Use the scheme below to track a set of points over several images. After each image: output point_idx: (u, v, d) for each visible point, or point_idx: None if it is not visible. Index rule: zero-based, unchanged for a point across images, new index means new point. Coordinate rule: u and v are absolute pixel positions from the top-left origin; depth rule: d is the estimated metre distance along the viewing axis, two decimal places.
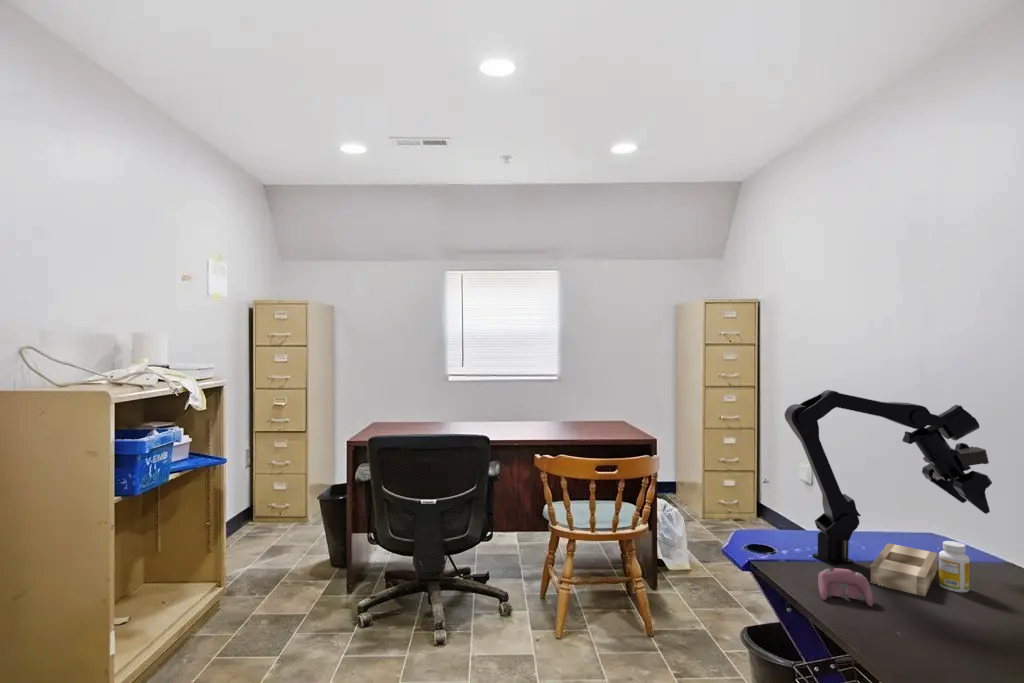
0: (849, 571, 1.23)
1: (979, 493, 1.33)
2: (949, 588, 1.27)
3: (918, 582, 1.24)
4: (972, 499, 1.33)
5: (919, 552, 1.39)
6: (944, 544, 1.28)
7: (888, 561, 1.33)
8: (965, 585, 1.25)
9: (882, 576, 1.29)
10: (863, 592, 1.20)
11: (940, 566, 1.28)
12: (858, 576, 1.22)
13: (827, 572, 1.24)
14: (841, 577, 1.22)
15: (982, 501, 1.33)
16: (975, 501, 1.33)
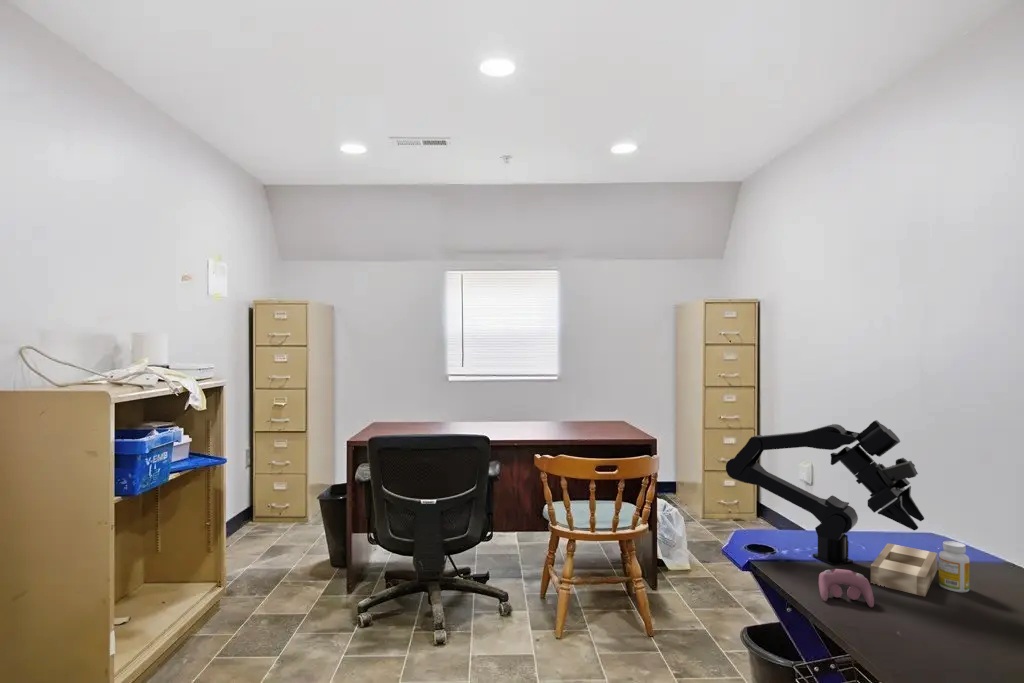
0: (850, 572, 1.22)
1: (898, 509, 1.30)
2: (949, 588, 1.27)
3: (918, 582, 1.24)
4: (891, 516, 1.31)
5: (919, 552, 1.39)
6: (944, 544, 1.28)
7: (888, 561, 1.33)
8: (965, 585, 1.25)
9: (882, 576, 1.29)
10: (864, 593, 1.20)
11: (940, 566, 1.28)
12: (859, 577, 1.21)
13: (828, 573, 1.23)
14: (842, 578, 1.22)
15: (904, 517, 1.30)
16: (896, 517, 1.30)
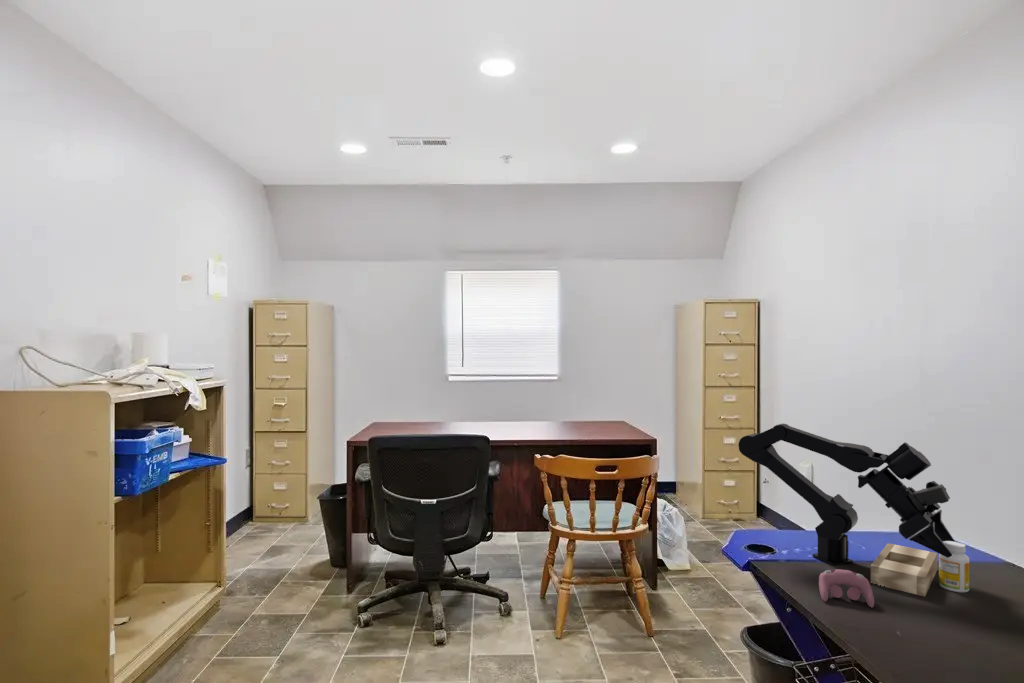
0: (850, 572, 1.22)
1: (931, 535, 1.26)
2: (949, 588, 1.27)
3: (918, 582, 1.24)
4: (923, 542, 1.27)
5: (919, 552, 1.39)
6: None
7: (888, 561, 1.33)
8: (965, 585, 1.25)
9: (882, 576, 1.29)
10: (864, 593, 1.20)
11: (940, 566, 1.28)
12: (859, 577, 1.21)
13: (828, 573, 1.23)
14: (842, 578, 1.21)
15: (937, 543, 1.26)
16: (928, 544, 1.26)
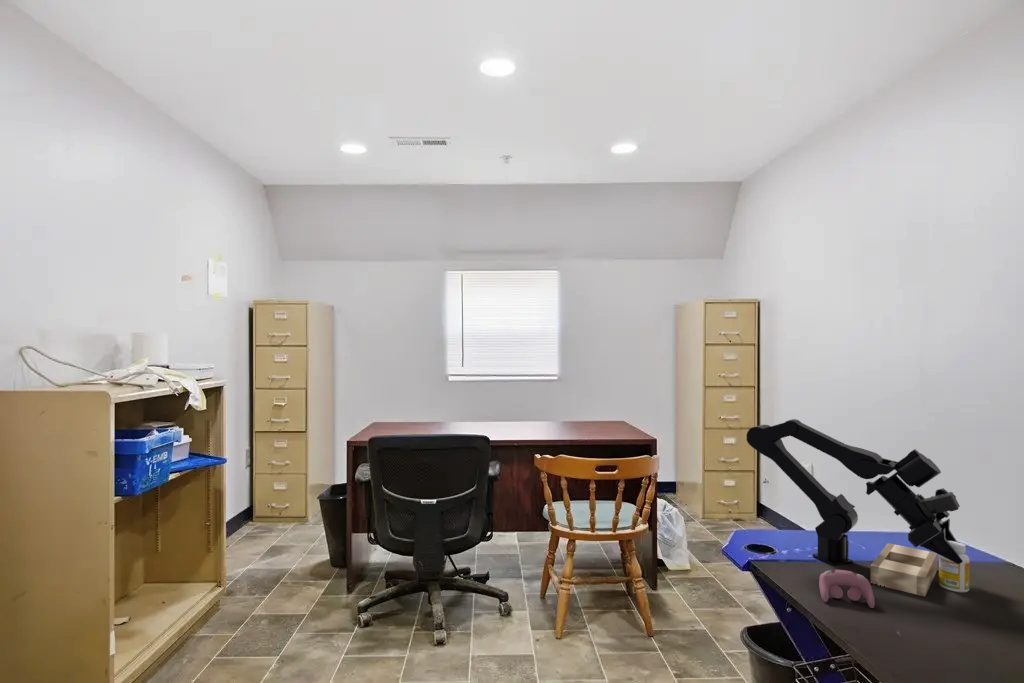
0: (850, 573, 1.22)
1: (941, 542, 1.26)
2: (949, 588, 1.27)
3: (918, 582, 1.24)
4: (934, 548, 1.27)
5: (919, 552, 1.39)
6: None
7: (888, 561, 1.33)
8: (965, 585, 1.25)
9: (882, 576, 1.29)
10: (865, 594, 1.19)
11: (940, 566, 1.28)
12: (859, 578, 1.21)
13: (828, 574, 1.23)
14: (842, 579, 1.21)
15: (947, 550, 1.26)
16: (939, 550, 1.27)
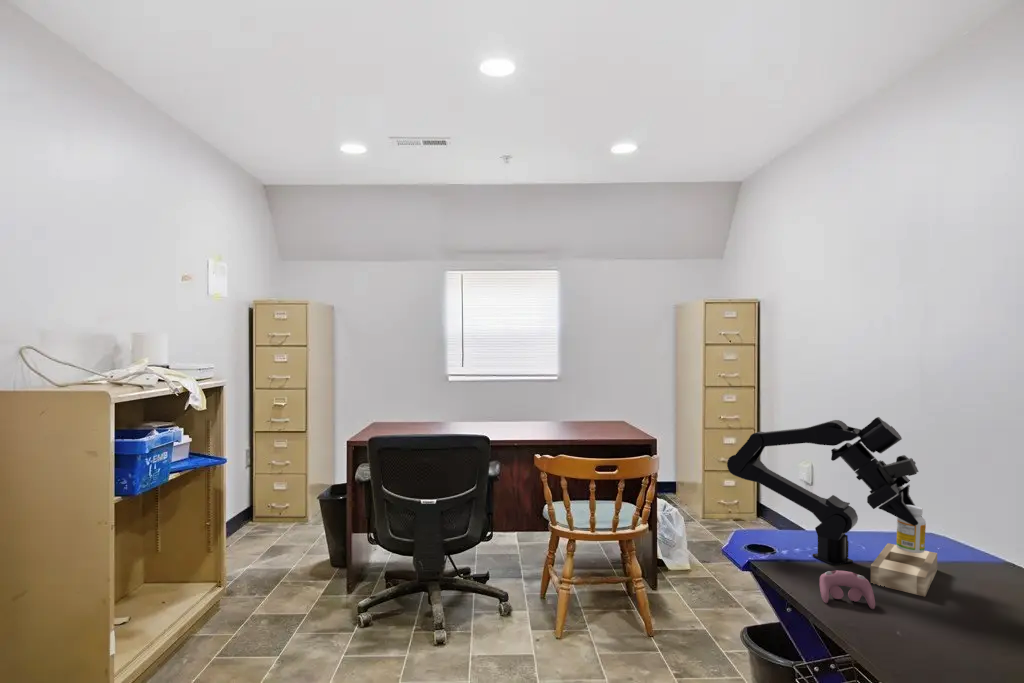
0: (851, 573, 1.21)
1: (899, 504, 1.32)
2: (905, 549, 1.32)
3: (918, 582, 1.24)
4: (892, 511, 1.32)
5: None
6: None
7: (888, 561, 1.33)
8: (921, 546, 1.31)
9: (882, 576, 1.29)
10: (865, 595, 1.19)
11: (898, 528, 1.34)
12: (860, 578, 1.20)
13: (829, 574, 1.22)
14: (843, 579, 1.21)
15: (904, 512, 1.31)
16: (896, 513, 1.32)
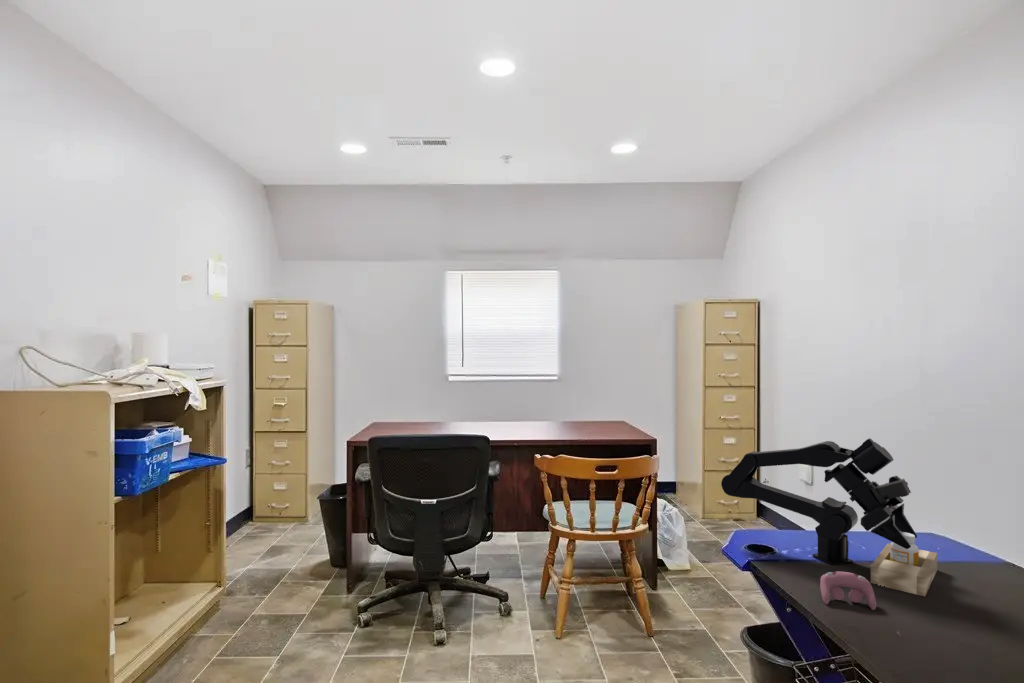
0: (852, 574, 1.21)
1: (891, 528, 1.31)
2: None
3: (918, 582, 1.24)
4: (884, 534, 1.32)
5: (919, 552, 1.39)
6: None
7: (888, 561, 1.33)
8: None
9: (882, 576, 1.29)
10: (866, 596, 1.19)
11: (891, 555, 1.35)
12: (861, 579, 1.20)
13: (829, 575, 1.22)
14: (844, 580, 1.20)
15: (896, 535, 1.30)
16: (888, 536, 1.31)
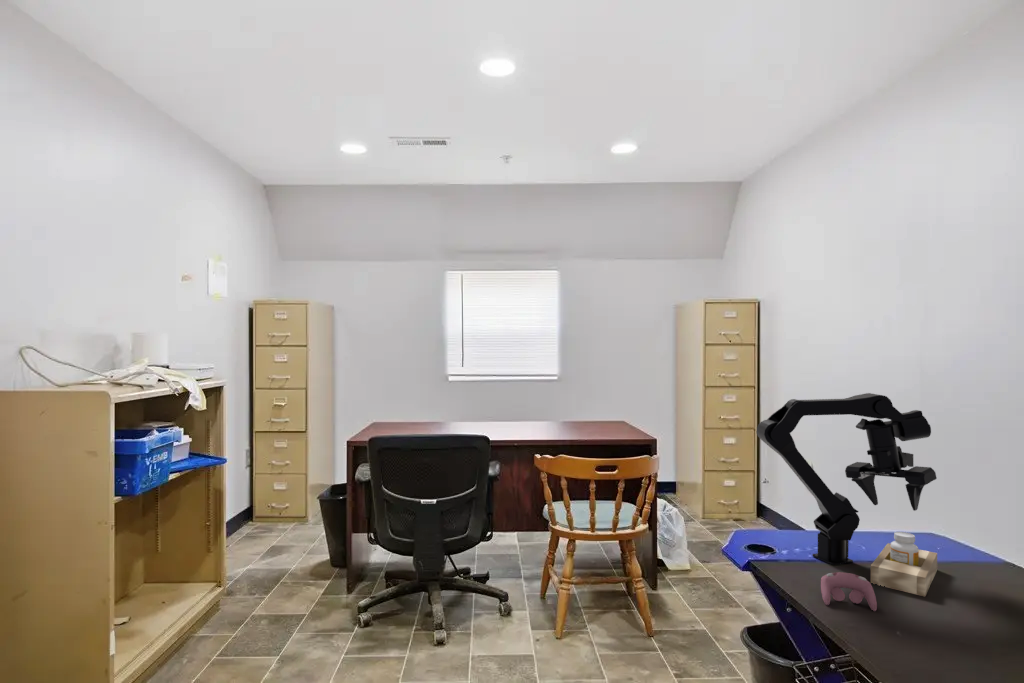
0: (852, 575, 1.20)
1: (917, 488, 1.38)
2: None
3: (918, 582, 1.24)
4: (915, 492, 1.37)
5: (919, 552, 1.39)
6: (895, 535, 1.34)
7: (888, 561, 1.33)
8: None
9: (882, 576, 1.29)
10: (867, 596, 1.18)
11: (891, 555, 1.35)
12: (861, 580, 1.20)
13: (830, 576, 1.21)
14: (844, 581, 1.20)
15: (918, 496, 1.38)
16: (915, 495, 1.37)
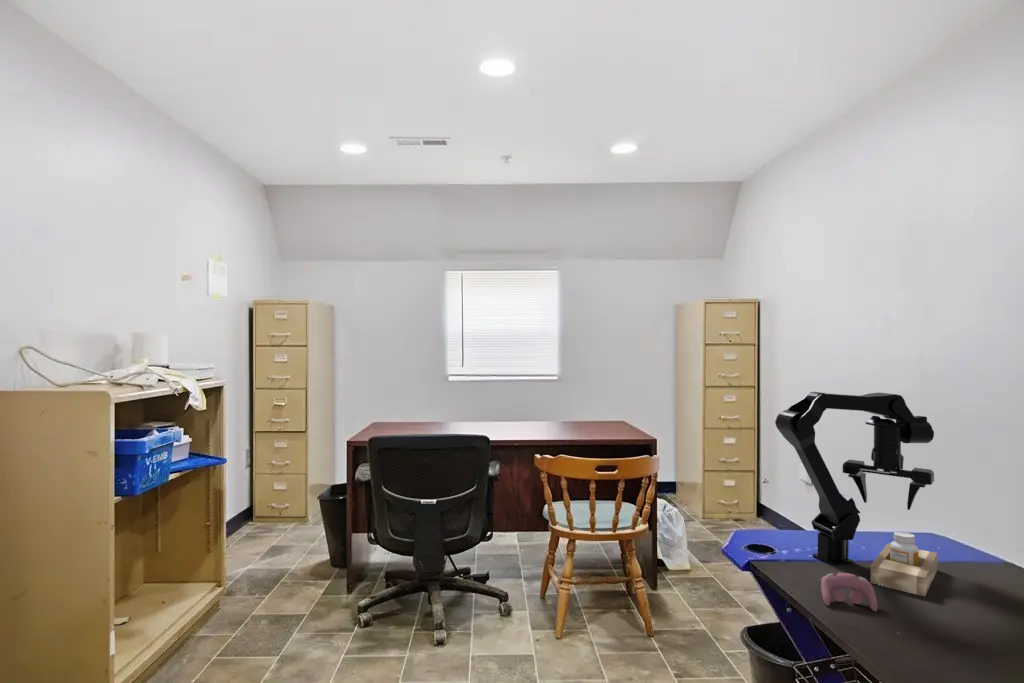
0: (853, 576, 1.20)
1: None
2: None
3: (918, 582, 1.24)
4: (915, 492, 1.40)
5: (919, 552, 1.39)
6: (895, 535, 1.34)
7: (888, 561, 1.33)
8: None
9: (882, 576, 1.29)
10: (867, 597, 1.18)
11: (891, 555, 1.35)
12: (862, 581, 1.19)
13: (830, 577, 1.21)
14: (845, 582, 1.20)
15: (914, 496, 1.42)
16: (914, 495, 1.41)
